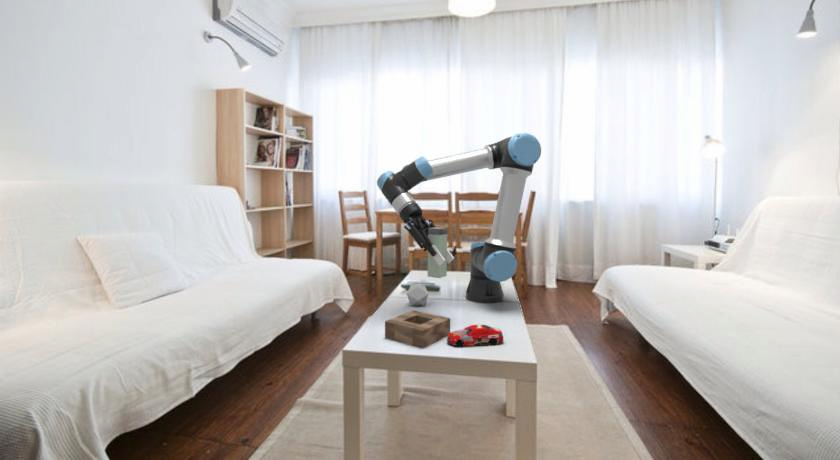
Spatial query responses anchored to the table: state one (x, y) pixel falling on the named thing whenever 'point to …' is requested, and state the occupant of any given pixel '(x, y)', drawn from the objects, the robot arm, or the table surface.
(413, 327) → the collar block
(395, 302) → the table surface
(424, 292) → the die
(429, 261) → the pin
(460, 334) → the race car
